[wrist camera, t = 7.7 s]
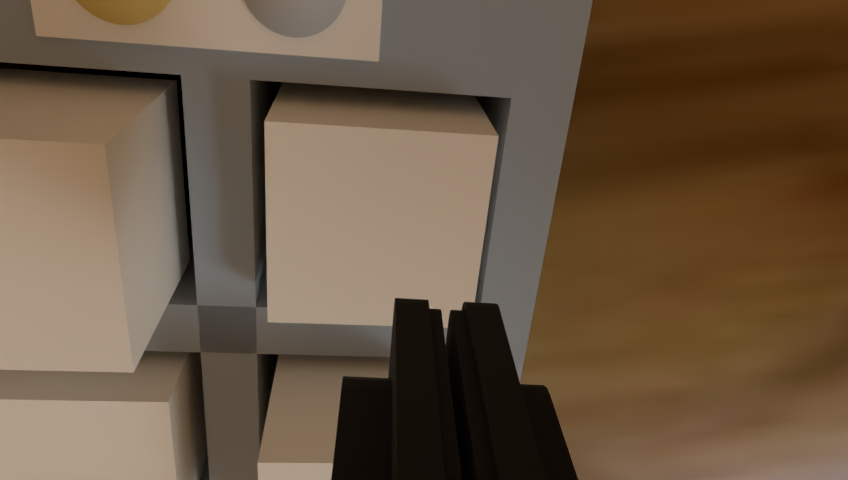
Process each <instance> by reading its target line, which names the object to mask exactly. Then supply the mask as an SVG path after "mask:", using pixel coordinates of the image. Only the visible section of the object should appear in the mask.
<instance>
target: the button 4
mask: <svg viewBox="0 0 848 480" xmlns="http://www.w3.org/2000/svg"><path fill="white" fill-rule="evenodd" d="M389 361H390V357H364V356H324V355H285V354H279V355H278V360H277V365H276V370H275V375H274V380H273V385H272V390H271V396H270V401H269V406H268V411H267V416H266V421H265V426H264V431H263V436H262V442H261V447H260V452H259V457H258V462H257V466H258V480H331V477H332V468H333V459H334V450H335V441H336V432H337V423H338V414H339V405H340V396H341V387H342V379H343V376H350V377H372V378H388V374H389Z"/></svg>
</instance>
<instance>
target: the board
mask: <svg viewBox="0 0 848 480" xmlns="http://www.w3.org/2000/svg"><path fill="white" fill-rule="evenodd" d="M592 2H593V0H0V62H5V63H19V64H34V65H48V66H62V67H76V68H90V69H105V70H119V71H133V72H147V73H161V74H176V75H181V83H182V98H183V112H184V126H185V140H186V154H187V168H188V182H189V196H190V211H191V225H192V236H188V243H189V257H190V261H189V263H188V265H187V267H186V269H185V271H184V273H183V275H182V277H181V279H180V281H179V283H178V285H177V287H176V289H175V291H174V293H173V295H172V297H171V299H170V301H169V303H168V305H167V307H166V309H165V311H164V313H163V315H162V317H161V319H160V321H159V323H158V325H157V327H156V329H155V331H154V333H153V335H152V337H151V339H150V341H149V343H148V345H147V347H146V349H145V351H167V352H201V366H202V380H203V394H204V408H205V423H206V437H207V451H208V453H207V457H206V460H205V464H204V467H203V470H202V474H201V477H200V480H258V466H257V462H258V457H259V452H260V447H261V442H262V436H263V431H264V426H265V421H266V416H267V411H268V406H269V401H270V396H271V390H272V385H273V380H274V375H275V370H276V354H285V355H324V356H364V357H390V349H391V337H392V326H375V325H342V324H310V323H277V322H268V316H267V256H266V195H265V134H264V121H265V119H266V116H267V114H268V112H269V110H270V108H271V106H272V104H273V81H275V82H289V83H304V84H318V85H332V86H346V87H360V88H375V89H389V90H403V91H417V92H431V93H446V94H460V95H474V96H480V99H479V104H480V105H481V107H482V109H483V110H484V112H485V114H486V116H487V117H488V119H489V121H490V122H491V124H492V126H493V127H494V129H495V131H496V132H497V134H498V136H499V138H498V145H497V151H496V158H495V165H494V172H493V179H492V186H491V193H490V200H489V207H488V214H487V221H486V228H485V235H484V242H483V249H482V256H481V263H480V270H479V277H478V284H477V290H476V297H475V302H478V303H496V304H498V306H499V308H500V312H501V316H502V319H503V323H504V327H505V330H506V334H507V338H508V341H509V345H510V349H511V352H512V356H513V360H514V363H515V367H516V371H517V374H518V378H519V381H520V380H521V374H522V369H523V364H524V359H525V353H526V348H527V343H528V338H529V332H530V327H531V322H532V317H533V312H534V306H535V301H536V296H537V291H538V285H539V280H540V275H541V270H542V264H543V259H544V254H545V249H546V243H547V238H548V233H549V228H550V222H551V217H552V212H553V207H554V201H555V196H556V191H557V186H558V180H559V175H560V170H561V165H562V159H563V154H564V149H565V144H566V138H567V133H568V128H569V123H570V117H571V112H572V107H573V102H574V96H575V91H576V86H577V81H578V75H579V70H580V65H581V60H582V54H583V49H584V44H585V39H586V33H587V28H588V23H589V18H590V13H591V7H592ZM447 329H448V328H444V336H445V345H446V337H447Z"/></svg>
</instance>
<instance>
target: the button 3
mask: <svg viewBox="0 0 848 480" xmlns="http://www.w3.org/2000/svg"><path fill="white" fill-rule="evenodd" d="M264 134H265V195H266V256H267V316H268V322H277V323H310V324H342V325H375V326H392V324H393V312H394V302H395V298H406V299H424V300H428V301H429V309H441V312H442V320H443V328H448V321H449V314H450V311H451V310H462V306H463V303H464V302H475V297H476V290H477V284H478V277H479V270H480V263H481V256H482V249H483V242H484V235H485V228H486V221H487V214H488V207H489V200H490V193H491V186H492V179H493V172H494V165H495V158H496V151H497V145H498V138H499V136H498V134H497V132H496V131H495V129H494V127H493V126H492V124H491V122H490V121H489V119H488V117H487V116H486V114H485V112H484V110H483V109H482V107H481V105H480V104H479V102H478V100H477V99H476V97H475V96H474V95H460V94H446V93H431V92H417V91H403V90H389V89H375V88H360V87H346V86H332V85H318V84H304V83H289V82H283V83H282V85H281V87H280V89H279V92H278V94H277V96H276V98H275V100H274V102H273V104H272V106H271V108H270V110H269V112H268V114H267V116H266V119H265V121H264Z"/></svg>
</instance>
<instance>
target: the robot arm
mask: <svg viewBox="0 0 848 480" xmlns="http://www.w3.org/2000/svg"><path fill="white" fill-rule="evenodd" d="M331 480H578V478H577V475H576V472H575V469H574V466H573V463H572V460H571V457H570V454H569V451H568V448H567V445H566V442H565V439H564V436H563V433H562V430H561V427H560V424H559V421H558V418H557V415H556V412H555V409H554V406H553V403H552V400H551V397H550V394H549V392H548V390H547V388H546V387H545V386H544V385H524V384H520V381H519V378H518V374H517V371H516V367H515V363H514V360H513V356H512V352H511V349H510V345H509V341H508V338H507V334H506V330H505V327H504V323H503V319H502V316H501V312H500V308H499V306H498V304H496V303H478V302H464V303H463V306H462V310H451V311H450V314H449V321H448V329H447V337H446V345H445V336H444V328H443V320H442V312H441V309H429V301H428V300H424V299H406V298H395V302H394V312H393V324H392V337H391V349H390V361H389V374H388V378H372V377H350V376H343V379H342V387H341V396H340V405H339V414H338V423H337V432H336V441H335V450H334V459H333V468H332V477H331Z"/></svg>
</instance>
